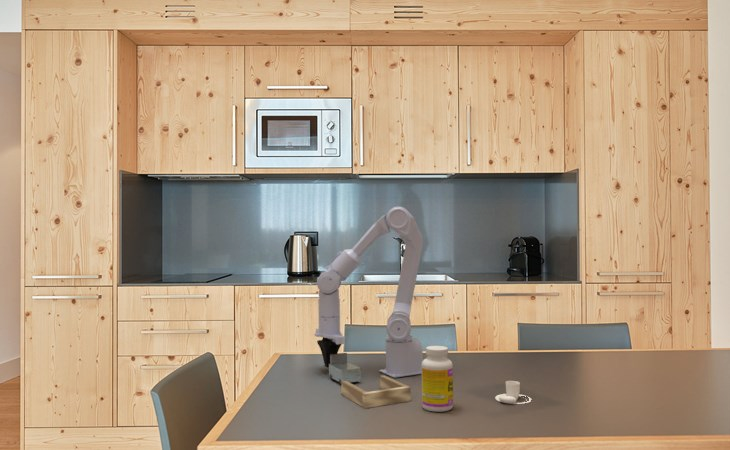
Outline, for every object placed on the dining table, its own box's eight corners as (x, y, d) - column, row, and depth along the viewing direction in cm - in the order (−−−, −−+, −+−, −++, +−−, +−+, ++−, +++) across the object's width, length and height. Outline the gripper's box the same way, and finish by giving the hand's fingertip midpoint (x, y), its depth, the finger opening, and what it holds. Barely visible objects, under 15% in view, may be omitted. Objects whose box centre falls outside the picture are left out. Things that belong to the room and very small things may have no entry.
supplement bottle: (452, 413, 121) (451, 351, 121) (420, 412, 122) (419, 350, 122) (454, 404, 128) (453, 345, 128) (423, 402, 129) (422, 344, 129)
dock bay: (384, 387, 141) (384, 375, 141) (410, 400, 130) (410, 387, 130) (341, 394, 136) (341, 381, 136) (364, 408, 125) (364, 394, 125)
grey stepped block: (328, 378, 150) (328, 354, 150) (348, 376, 153) (347, 352, 153) (341, 386, 143) (340, 360, 143) (361, 383, 146) (361, 358, 146)
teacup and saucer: (508, 408, 125) (508, 389, 125) (484, 399, 132) (484, 381, 132) (539, 402, 129) (539, 384, 129) (514, 394, 136) (514, 376, 136)
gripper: (305, 313, 161) (305, 363, 161) (326, 320, 148) (326, 374, 148) (329, 311, 165) (329, 360, 164) (351, 318, 152) (351, 371, 152)
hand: (329, 366), depth 157 cm, fingers closed
